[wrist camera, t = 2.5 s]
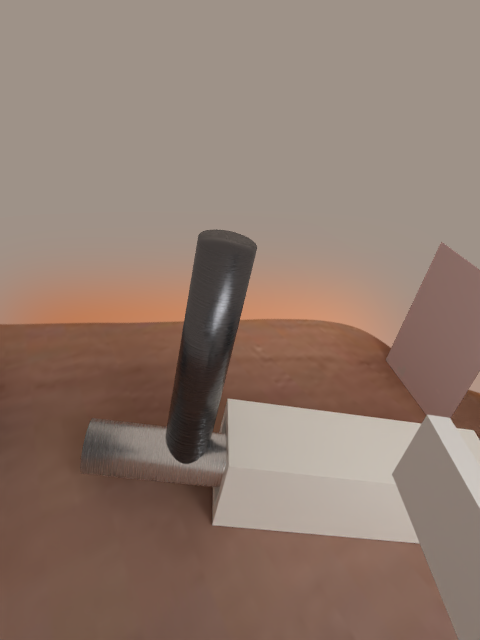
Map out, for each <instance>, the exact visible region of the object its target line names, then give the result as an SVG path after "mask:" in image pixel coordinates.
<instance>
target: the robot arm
mask: <svg viewBox="0 0 480 640" xmlns="http://www.w3.org/2000/svg"><path fill="white" fill-rule="evenodd" d="M392 476H393V478H394V481H395V483H396V486H397V488H398V491H399V493H400V496H401V498H402V500H403V503H404V505H405V508H406V510H407V513H408V515H409V518H410V520H411V523H412V525H413V528H414V530H415V533H416V535H417V538H418V540H419V543H420V545H421V548H422V550H423V553H424V555H425V558H426V560H427V563H428V565H429V568H430V570H431V573H432V575H433V577H434V580H435V582H436V585H437V587H438V590H439V592H440V595H441V597H442V600H443V602H444V605H445V607H446V610H447V612H448V615H449V617H450V620H451V622H452V625H453V627H454V630H455V632H456V635H457V637H458V640H480V466H479V464H478V463H477V461H476V459H475V458H474V456H473V454H472V453H471V451H470V450H469V448H468V446H467V445H466V443H465V441H464V440H463V438H462V437H461V435H460V433H459V432H458V430H457V429H456V427H455V425H454V424H453V422H452V420H451V419H450V418H448V417H441V416H434V415H426V417H425V419H424V420H423V422H422V424H421V426H420V427H419V429H418V431H417V432H416V434H415V436H414V437H413V439H412V441H411V443H410V444H409V446H408V448H407V449H406V451H405V453H404V454H403V456H402V458H401V459H400V461H399V463H398V465H397V466H396V468H395V470H394V471H393V473H392Z"/></svg>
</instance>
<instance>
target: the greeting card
mask: <svg viewBox="0 0 480 640" xmlns="http://www.w3.org/2000/svg"><path fill="white" fill-rule="evenodd" d="M386 361H387V362H388V364H389V365H390V367H391V368H392V369H393V371H394V372H395V373H396V375H397V376H398V377H399V379H400V380H401V381H402V383H403V384H404V386H405V387H406V388H407V390H408V391H409V392H410V394H411V395H412V396H413V398H414V399H415V400H416V402H417V403H418V405H419V406H420V407H421V409H422V410H423V411H424V413H425V414H426V415H434V416H441V417H448V418H451V416H452V415H453V413H454V412H455V410H456V408H457V407H458V405H459V404H460V402H461V400H462V399H463V397H464V395H465V394H466V392H467V391H468V389H469V387H470V386H471V384H472V383H473V381H474V379H475V378H476V376H477V375H478V373H479V371H480V270H479V269H478V268H477V267H475V266H474V265H472V264H471V263H470V262H468V261H467V260H466V259H464V258H463V257H461V256H460V255H459V254H457V253H456V252H454V251H453V250H452V249H451V248H449V247H448V246H446V245H445V244H444V243H442V242H441V244H440V246H439V248H438V250H437V252H436V254H435V257H434V259H433V261H432V263H431V265H430V267H429V269H428V272H427V274H426V276H425V278H424V280H423V282H422V284H421V286H420V288H419V291H418V293H417V295H416V297H415V299H414V301H413V303H412V305H411V307H410V310H409V312H408V314H407V316H406V318H405V320H404V322H403V324H402V326H401V329H400V331H399V333H398V335H397V337H396V339H395V341H394V344H393V346H392V348H391V350H390V352H389V354H388V356H387V358H386Z"/></svg>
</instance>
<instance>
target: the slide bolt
mask: <svg viewBox="0 0 480 640" xmlns="http://www.w3.org/2000/svg"><path fill="white" fill-rule="evenodd" d="M256 250H257V246H256V244H255V243H254V242H253V241H252V240H251V239H249V238H247V237H245V236H243V235H241V234H237V233H235V232H231V231H225V230H206V231H203V232H201V233H200V234H199V236H198V241H197V247H196V254H195V259H194V265H193V272H192V278H191V284H190V290H189V296H188V302H187V308H186V314H185V320H184V326H183V332H182V338H181V345H180V351H179V357H178V363H177V369H176V375H175V381H174V387H173V393H172V399H171V405H170V411H169V418H168V424H167V427H165V426H157V425H148V424H140V423H131V422H123V421H114V420H106V419H97V418H92V419H91V421H90V423H89V426H88V429H87V432H86V436H85V440H84V445H83V450H82V456H81V466H80V470H81V474H90V475H100V476H110V477H120V478H130V479H140V480H150V481H160V482H169V483H179V484H189V485H199V486H209V487H219V488H220V485H221V482H222V478H223V475H224V471H225V467H226V434H224V433H216V432H213V428H214V424H215V420H216V416H217V412H218V407H219V403H220V399H221V395H222V391H223V387H224V383H225V379H226V374H227V370H228V366H229V362H230V358H231V354H232V350H233V345H234V341H235V337H236V333H237V329H238V325H239V321H240V316H241V312H242V308H243V304H244V299H245V296H246V291H247V287H248V283H249V279H250V275H251V271H252V266H253V262H254V258H255V254H256Z"/></svg>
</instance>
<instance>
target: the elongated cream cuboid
mask: <svg viewBox="0 0 480 640" xmlns="http://www.w3.org/2000/svg"><path fill="white" fill-rule="evenodd" d="M420 426H421V423H413V422H405V421H398V420H390V419H382V418H374V417H367V416H359V415H351V414H343V413H336V412H328V411H320V410H313V409H305V408H297V407H289V406H282V405H274V404H266V403H258V402H251V401H243V400H235V399H227V403H226V407H225V411H224V415H223V419H222V423H221V427H220V431H219V433H224V434H226V467H225V471H224V475H223V478H222V482H221V485H220V488H219V487H213V507H212V525H216V526H228V527H239V528H250V529H261V530H273V531H284V532H295V533H306V534H318V535H329V536H340V537H352V538H363V539H374V540H385V541H397V542H408V543H419V540H418V538H417V535H416V533H415V530H414V528H413V525H412V523H411V520H410V518H409V515H408V513H407V510H406V508H405V505H404V503H403V500H402V498H401V496H400V493H399V491H398V488H397V486H396V483H395V481H394V478H393V476H392V473H393V471H394V470H395V468H396V466H397V465H398V463H399V461H400V459H401V458H402V456H403V454H404V453H405V451H406V449H407V448H408V446H409V444H410V443H411V441H412V439H413V437H414V436H415V434H416V432H417V431H418V429H419V427H420ZM456 429H457V430H458V432H459V433H460V435H461V437H462V438H463V440H464V441H465V443H466V445H467V446H468V448H469V450H470V451H471V453H472V454H473V456H474V458H475V459H476V461H477V463H478V464H479V466H480V440H479V438H478V436H477V435H476V433H475V432H474V430H467V429H460V428H456ZM419 544H420V543H419Z"/></svg>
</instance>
